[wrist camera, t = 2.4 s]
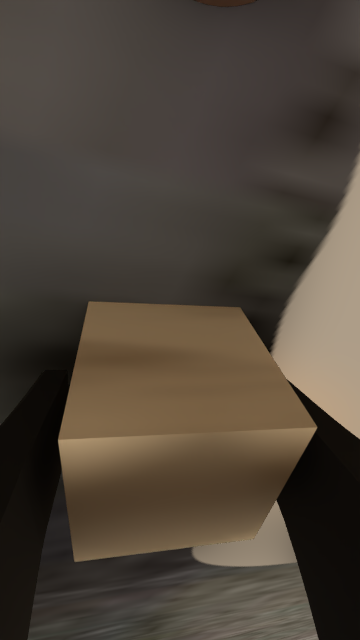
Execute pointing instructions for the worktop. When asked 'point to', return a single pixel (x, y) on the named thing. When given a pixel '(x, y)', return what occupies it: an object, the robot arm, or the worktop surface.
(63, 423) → the beech cube
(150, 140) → the worktop surface
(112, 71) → the worktop surface
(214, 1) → the terracotta cylinder
